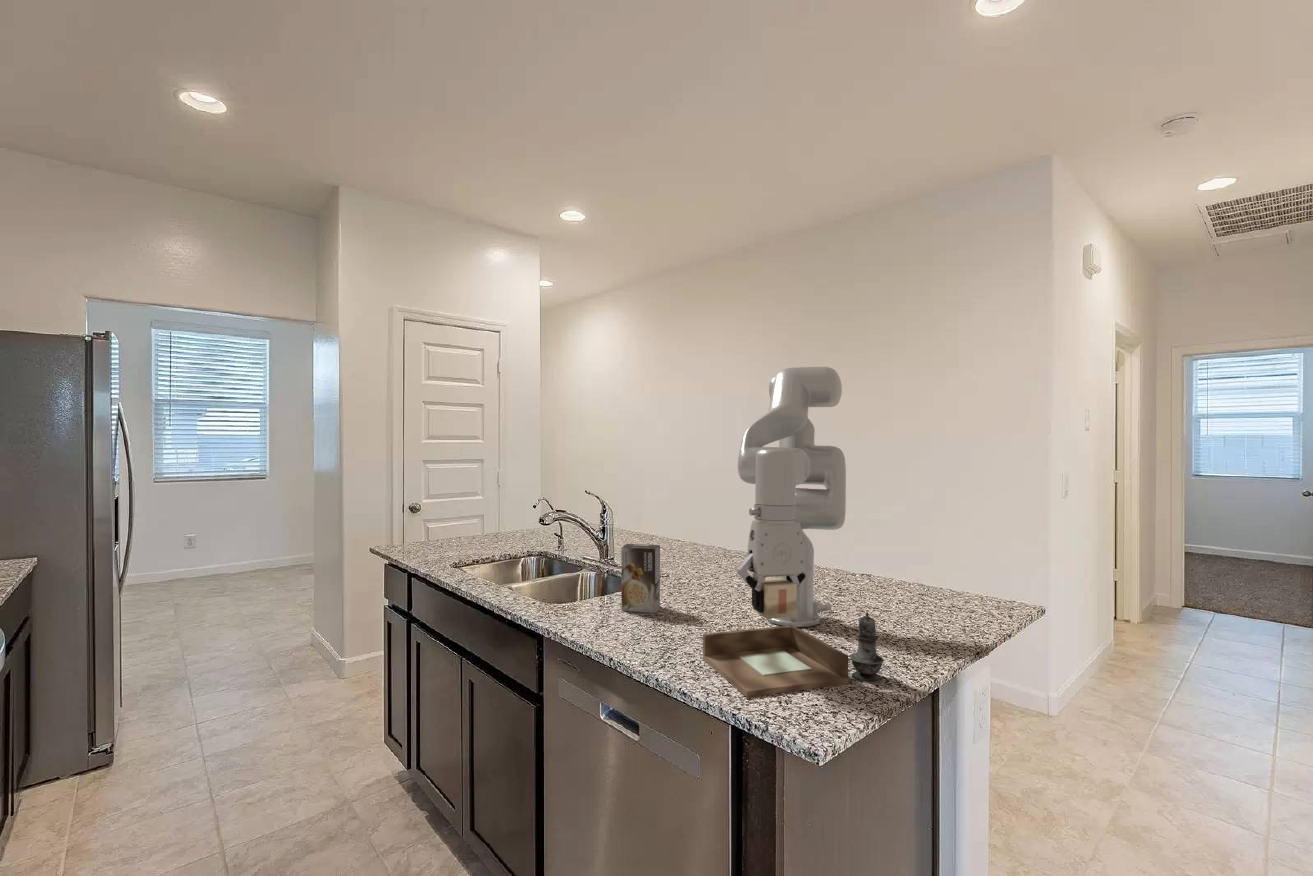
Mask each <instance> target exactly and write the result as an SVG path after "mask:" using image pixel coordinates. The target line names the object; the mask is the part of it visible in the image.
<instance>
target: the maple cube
mask: <svg viewBox="0 0 1313 876" xmlns="http://www.w3.org/2000/svg"><path fill="white" fill-rule="evenodd" d="M762 591H764V612H763V613H760V612H758V611H756V610H754V609H753V608H752V612H754V613H756V614H757V615H760V616H761V617H763V618H765V619H766V620H767V619H775V618H787V617H797V584H795V583H793V582H790V581H788V580H785V579H783V578H773V577H771V578H770V577H768V578H765V580H764V583H763V586H762Z"/></svg>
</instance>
